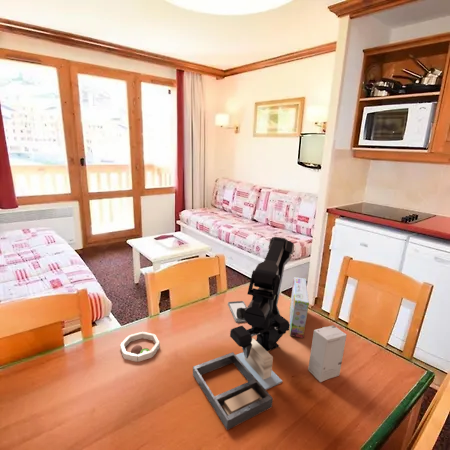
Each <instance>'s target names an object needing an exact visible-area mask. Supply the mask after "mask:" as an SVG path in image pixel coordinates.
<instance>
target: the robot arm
mask: <svg viewBox="0 0 450 450" xmlns="http://www.w3.org/2000/svg"><path fill="white" fill-rule="evenodd" d="M294 252H295V243H294V242H292V240H289V239H286V238H284V237H279V236H274V237H273V236H272V238H270V240H269V244H268V251H267V253H266V256H265V257H264V260H263V261H261V262H260V263H258V264H257V266H256V267H255V269H253V271H251V272H252V273H251V277H250V281H249V285H248V290H247V295H250V296H252V297H251V301H250V302H249V304H248V305H247V306H246V308H238V309H237V318H238V319H242V320H245V321H246V322H245V323H246V324H247V325H249V326H250V327H251V328H247V329H246V327H244V326H243V325H240V326H237V327H233V328H231V329H230V331H229V332H230V333H229V337H230V338H231V339H232V340H233V341H234V342H235V343H236V344H237V346H238V347H240V348H241V349H242V352H244V355H245V357H246V358H248V357H249V354H250V350H251V347H252V344H251V342H252V338H253V337H254V336H256V339H255V340H256V341H257V342H258V343H259V344H260V345H261V346H262V347H263V348H264V349H265V350H266V351H267V352H268V353H269V352H270V351H273V350H275V349H278V348H279V347H280V345H279V344H278V342H279V340H280V339H281V338H282V337H283V336H284V335H285V334H286V333H287V331H290V321H289V320H287V318H285V317H284V316H282V315H281V313H280V310H279V308H278V303H279V298H280V292H281V286H282V282H283V277H284V271H285V267H286V265H287V264H288V263H289V261H291V257H292V255H294ZM254 287H255V288H254Z"/></svg>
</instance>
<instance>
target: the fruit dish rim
mask: <svg viewBox="0 0 450 450" xmlns="http://www.w3.org/2000/svg"><path fill="white" fill-rule="evenodd" d="M142 339H144V340H149V341H152V342H153V344H154V345H153V346H152V348H151V349H149V350H150V351H147V352H144V353H141V354H140V353H139V354H134V353H131V351H130V352H129V351H127V350H126V347H127V346H128V345H129V344H130V343H131V342H134V341H137V340H142ZM160 344H161V343H160V340H159V339H158V337H157V335H156V334H155V333H152V332H146V331H140V332H136V333H132V334H129V335H127V336H126V337H125V338H124V340H123V341H121V343H120V346H119V347H120V352H121V355H122V357H123V359H124V360H127V361H131V362H138V363H139V362H141V361H145V360H147V359H151V358H153V357H155V355H156V353H157V352H158V351H159V349H160V347H161V346H160Z"/></svg>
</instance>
